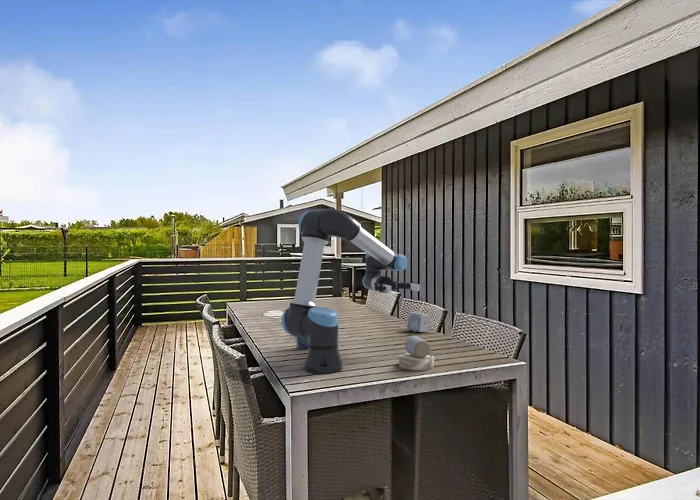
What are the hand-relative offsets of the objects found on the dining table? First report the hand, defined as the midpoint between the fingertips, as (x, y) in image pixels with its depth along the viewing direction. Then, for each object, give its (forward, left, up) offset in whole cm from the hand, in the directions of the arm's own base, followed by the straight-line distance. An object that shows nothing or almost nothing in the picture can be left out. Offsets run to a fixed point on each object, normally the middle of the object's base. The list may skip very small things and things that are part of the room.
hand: (404, 288), depth 197 cm
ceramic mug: (-3, -10, -27) cm, 28 cm away
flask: (-14, +46, -30) cm, 57 cm away
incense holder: (+53, +29, -30) cm, 68 cm away
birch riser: (-4, -9, -30) cm, 32 cm away
